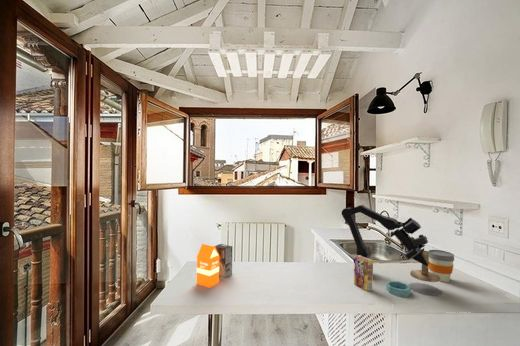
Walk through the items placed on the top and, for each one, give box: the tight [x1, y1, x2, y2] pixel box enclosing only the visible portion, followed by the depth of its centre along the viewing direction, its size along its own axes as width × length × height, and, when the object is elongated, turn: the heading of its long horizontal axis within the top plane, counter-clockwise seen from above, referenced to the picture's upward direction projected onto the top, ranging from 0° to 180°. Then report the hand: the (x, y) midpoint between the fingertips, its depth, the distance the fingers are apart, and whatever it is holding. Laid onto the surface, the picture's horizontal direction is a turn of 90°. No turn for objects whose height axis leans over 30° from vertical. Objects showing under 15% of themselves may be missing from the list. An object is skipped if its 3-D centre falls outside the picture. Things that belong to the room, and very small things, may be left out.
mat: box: [407, 282, 443, 297], centre depth 139 cm, size 15×15×1 cm
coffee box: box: [213, 243, 233, 278], centre depth 154 cm, size 9×6×16 cm
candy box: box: [353, 255, 374, 291], centre depth 141 cm, size 9×4×15 cm, turn 26°
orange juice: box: [196, 243, 220, 288], centre depth 142 cm, size 8×9×20 cm
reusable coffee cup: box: [428, 249, 455, 283], centre depth 153 cm, size 12×12×15 cm
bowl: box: [386, 280, 412, 298], centre depth 136 cm, size 10×10×4 cm
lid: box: [409, 250, 441, 283], centre depth 139 cm, size 13×13×13 cm
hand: (428, 264), depth 138 cm, fingers closed on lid, 3 cm apart
